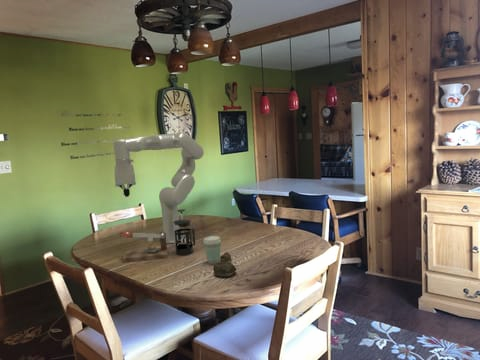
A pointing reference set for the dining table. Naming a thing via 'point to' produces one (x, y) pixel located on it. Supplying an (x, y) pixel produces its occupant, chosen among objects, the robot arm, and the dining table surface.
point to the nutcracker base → (148, 253)
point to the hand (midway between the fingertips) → (127, 196)
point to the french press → (184, 244)
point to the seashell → (224, 266)
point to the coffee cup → (212, 249)
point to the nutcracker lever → (142, 235)
